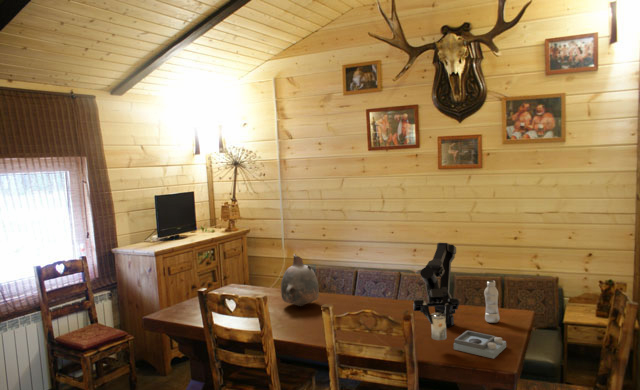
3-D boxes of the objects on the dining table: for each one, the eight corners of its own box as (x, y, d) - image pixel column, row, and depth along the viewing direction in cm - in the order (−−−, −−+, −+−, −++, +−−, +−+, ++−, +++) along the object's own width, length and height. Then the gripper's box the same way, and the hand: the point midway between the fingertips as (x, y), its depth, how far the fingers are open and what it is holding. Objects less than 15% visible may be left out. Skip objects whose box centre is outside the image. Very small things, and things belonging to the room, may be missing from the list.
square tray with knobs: (453, 349, 201) (453, 338, 201) (467, 338, 212) (467, 328, 211) (493, 358, 190) (493, 347, 190) (506, 347, 200) (506, 336, 200)
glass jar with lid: (430, 334, 203) (429, 312, 202) (444, 334, 202) (444, 312, 202) (433, 342, 194) (433, 319, 193) (449, 342, 194) (448, 319, 193)
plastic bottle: (500, 324, 227) (499, 283, 225) (485, 324, 228) (484, 283, 226) (498, 320, 233) (497, 279, 231) (484, 319, 234) (482, 279, 233)
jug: (319, 312, 259) (316, 257, 257) (279, 314, 259) (276, 259, 257) (319, 299, 283) (317, 249, 281) (283, 300, 284) (281, 251, 281)
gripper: (413, 281, 202) (418, 315, 192) (457, 279, 201) (465, 313, 191) (411, 294, 210) (415, 327, 200) (453, 292, 209) (460, 325, 199)
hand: (439, 323), depth 197 cm, fingers closed on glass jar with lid, 6 cm apart
